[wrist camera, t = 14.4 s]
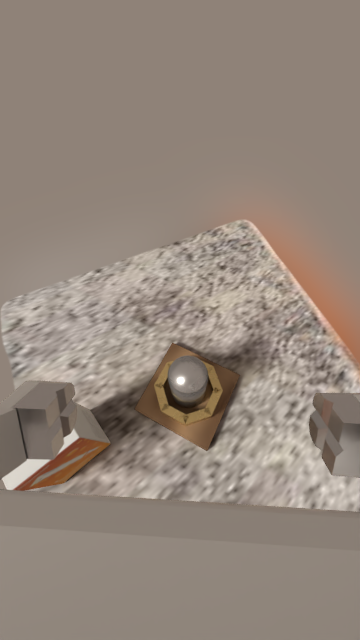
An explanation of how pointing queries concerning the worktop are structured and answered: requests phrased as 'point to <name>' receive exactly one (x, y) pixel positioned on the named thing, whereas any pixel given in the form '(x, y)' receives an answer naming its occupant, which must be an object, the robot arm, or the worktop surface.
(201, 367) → the grey metal cylinder
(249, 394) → the worktop surface
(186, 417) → the ring
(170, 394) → the board
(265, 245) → the worktop surface
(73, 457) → the small box
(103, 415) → the worktop surface
